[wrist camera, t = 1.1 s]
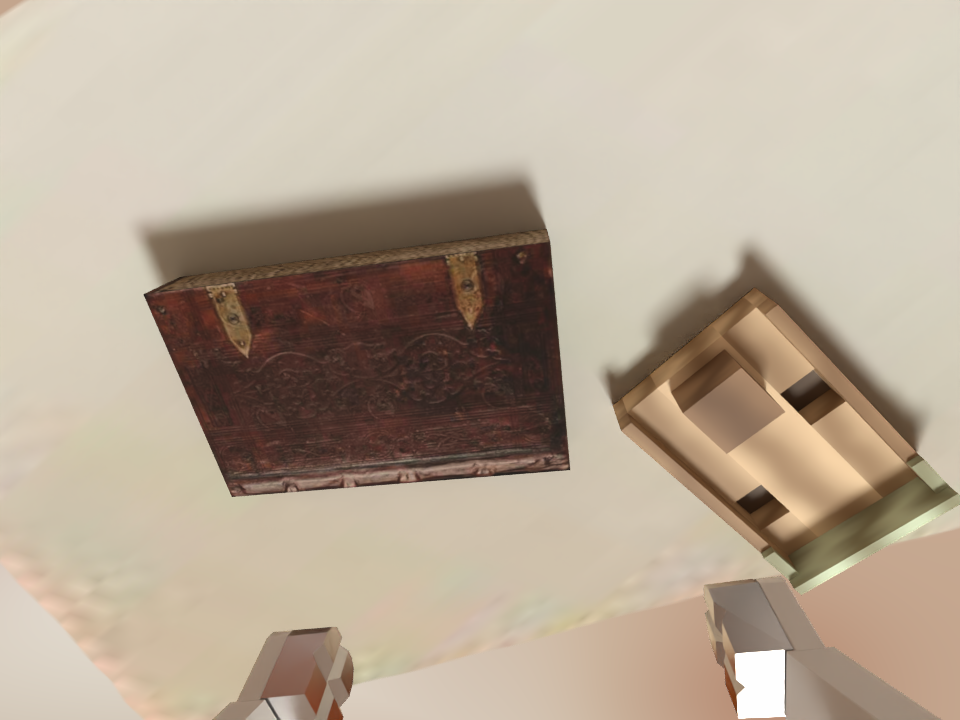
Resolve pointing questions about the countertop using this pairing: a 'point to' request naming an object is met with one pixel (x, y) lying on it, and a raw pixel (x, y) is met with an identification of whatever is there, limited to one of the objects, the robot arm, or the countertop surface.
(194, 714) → the countertop surface
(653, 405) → the box
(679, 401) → the block
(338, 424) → the hardback book
